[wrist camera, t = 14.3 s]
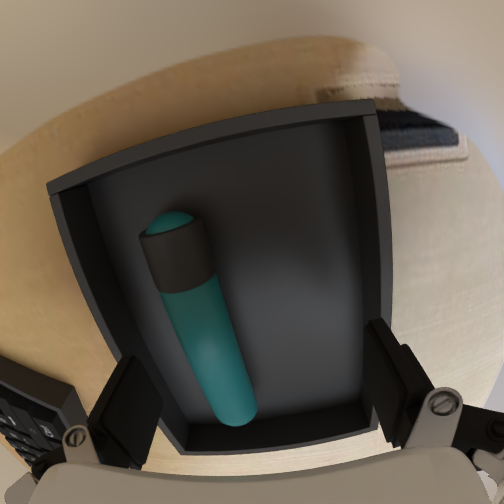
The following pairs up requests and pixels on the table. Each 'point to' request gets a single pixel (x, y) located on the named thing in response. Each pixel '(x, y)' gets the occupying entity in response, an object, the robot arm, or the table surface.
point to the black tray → (248, 265)
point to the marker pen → (199, 312)
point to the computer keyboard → (36, 410)
